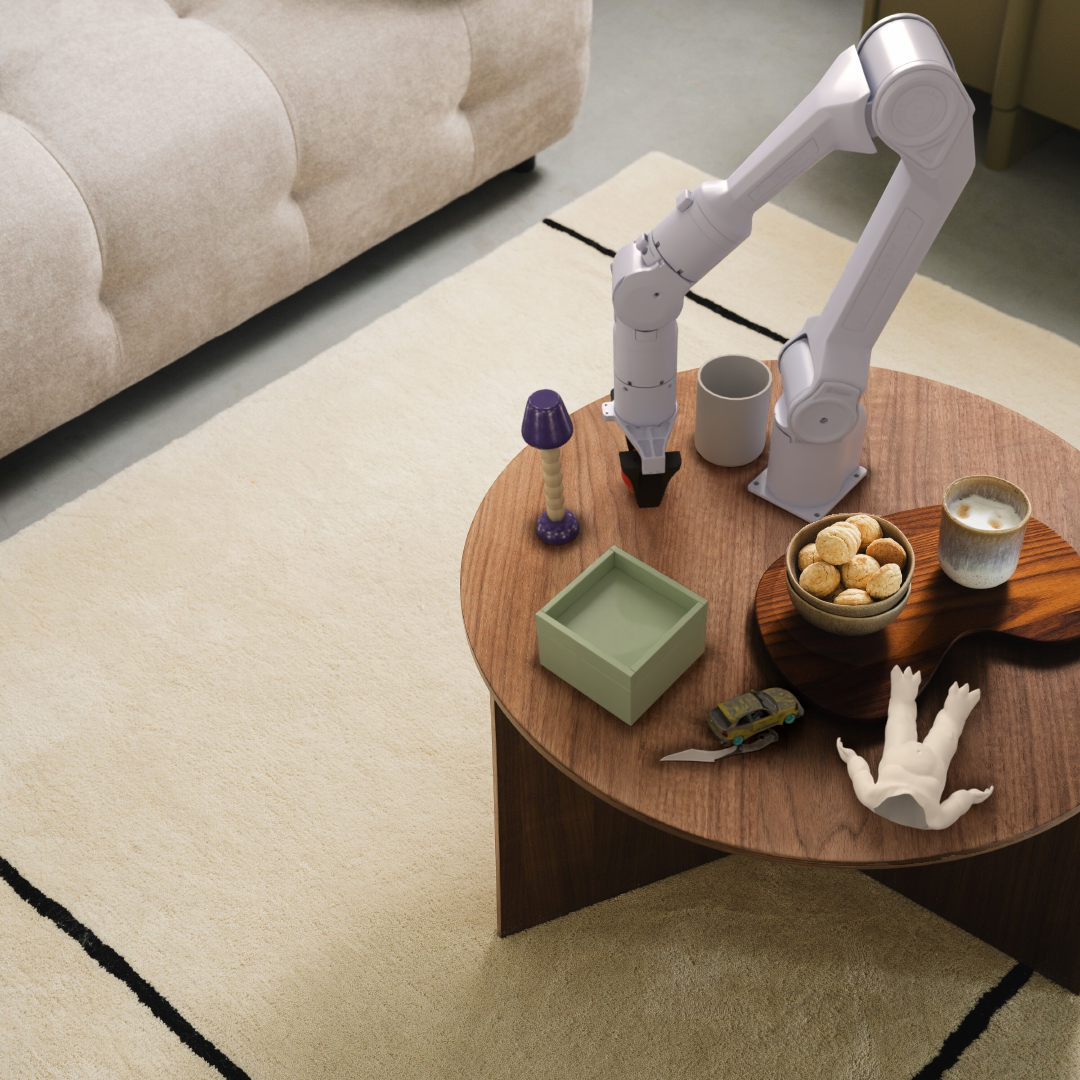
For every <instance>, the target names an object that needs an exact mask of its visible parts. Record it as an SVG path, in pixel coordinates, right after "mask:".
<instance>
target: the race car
mask: <svg viewBox="0 0 1080 1080" xmlns="http://www.w3.org/2000/svg"><path fill="white" fill-rule="evenodd" d="M716 705H717V706H715V707H713V709H711V710H709V712H708V715H707V717H706V721H705V723H706V724H707V726H708V728H707V729H708V730H709V731H710V732H711V734H712V736H713V737H714V738H715V739H716V741H717V742H719V744H720V745H723V746H724V747H725V748H727V747H731V746H732V745H733V746H737V745H740V744H741V743H742V744H743V742H744V741H745V740H747V739H748V738H750V737H752V736H754V735H755V734H758V733H760V732H762V731H765V730H768V729H771V728H772V727H775V726H778V725H779V726H782V725H783V723H785V724H787V725H789V724H792V723H794V721H795V720H797V719H799V718H801V717H803V716H804V713H805V710H804V708H803V707H802V705H801V704H800V701H799V700H798V698H796V696H795V695H794V694H793V693H791V692H790V691H788V690H787V689H784V688H782V687H771V688H767V689H763V690H760V691H755V690H754V689H749V692H746V693H744V694H741V695H738V696H736V697H733V698H730V699H728V700H726V701H724V702H719V703H718V702H717V703H716ZM731 744H732V745H731Z"/></svg>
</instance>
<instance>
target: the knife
mask: <svg viewBox="0 0 1080 1080" xmlns="http://www.w3.org/2000/svg"><path fill="white" fill-rule="evenodd" d="M767 730H768V732H767V733H759V734H758V735H757V739H758V740H755V741H754V742H752V743H743V742H742V743H741V744H740V745H737V746H735V745H733V746H732V745H731V746H730V747H728V748H727V747H725V748H724V749H719V750H714V751H713V750H702V749H701V750H700V749H694V748H690V749H685V750H683V751H679V752H676V753H673V754H668V755H666V756H663V757H662V758H661V759H660V760H659V762H661V761H692V762H694V761H695V762H711V763H713V762H716V761H715V760H719V759H721V758H725V757H729V756H733V755H736V754H744V753H750V752H754V751H755V752H756V751H758V750H761V749H763V748H766V747H767V746H768V745H770V744H771V743H774V742H775V743H776V742H778V741H779V734H778V733H777V732H776V730H773V729H772V728H768V729H767ZM760 736H763V738H760Z"/></svg>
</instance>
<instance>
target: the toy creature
mask: <svg viewBox="0 0 1080 1080" xmlns="http://www.w3.org/2000/svg"><path fill="white" fill-rule="evenodd" d="M921 682H922V676H921V670H918V671H916V672H915V673H914V674H913V671H912V668H911V666H910V665H909V666H907V667H906V668H905V670H904V671H902V669H901V668H900V666H899V665H898V664H896V665H894V666H893V668H892V670H891V671H890V699H889V701H888V703H889V704H888V709H887V721H886V724H885V728H884V746H883V752H882V758H881V760H880V762H879V764H878V768H877V774H878V776H877V781H876V783H875V781H874V778H873V775H872V774H871V769H870V766H869V764H868V762H867V761H866V760H865V758H863V757H862V756H860V755H858V754H857V753H856V751H855V750H853V749H852V748H846V747H844V746H843V742H842V741H841V737H837V739H836V748H837V751H838V754H839V757H840V759H841V760H842V761H843V762H844V763H845V764H846V766H847V767H846V768H847V773H848V776H849V778H850V780H851V781H852V787H853V790H854V793H855V796H856V798H857V799H858V801H859V802H860V803H861V804H862V805H863V806H864V807H866V808H868V809H869V810H870V811H872V812H873V813H874V814H876V815H878V816H879V817H882V818H884V819H887V820H889V821H891V822H893V823H896V824H898V825H901V826H905V827H909V828H914V829H917V830H918V829H919V830H927V831H928V830H929V831H930V830H935V831H939V830H940V831H941V830H945V829H947V828H949V827H951V826H952V825H953V824H955V822H957V821H958V819H960V817H962V816H963V815H965V814H966V813H967V812H968V811H969V810H970V808H971V807H972V805H975V804H977V805H978V804H981V803H983V802H984V801H985V800H987V799H988V798H989V797H990V796H991V795H992V793H993V792H994V790H995V789H994V788H995V787H994V785H991V786H990V787H989V788H985V790H984V791H983V790H982V791H981V790H979V789H978V788H970V789H968V790H966V789H959V790H955V791H954V792H953V793H951V794H950V795H949V797H947V798H946V799H945V800H943V801H942V802H940V801H941V797H942V794H943V791H944V789H945V786H946V783H947V773H948V770H949V767H950V764H951V762H952V759H953V757H954V755H955V753H956V752H957V750H958V744H959V739H960V737H961V736H962V733H963V730H964V726H965V724H966V720H967V719H968V717H969V716H970V714H971V712H972V710H973V709H974V708H975V707H976V705H977V704H978V703H979V701H980V699H981V689H980V688H977V689H974V690H971V691H970V685H969V683H968V682H967V683H964V684H963V686H961V687H960V688H959V685H958V684H959V683H958V681H954V682H953V684H952V685H951V686H950V687H949V689H948V695H947V697H946V698H945V701H944V704H943V708H942V709H940V710H939V711H938V713H937V714H936V716H935V718H934V721H933V724H932V727H931V728H930V729H929V731H928V733H927V735H926V736H925V737H924V739H923V741H922V742H919V741H918V732H917V721H916V720H917V717H918V709H917V707H918V706H917V702H916V699H917V696H918V693H919V686H920V684H921ZM969 691H970V692H969Z"/></svg>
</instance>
